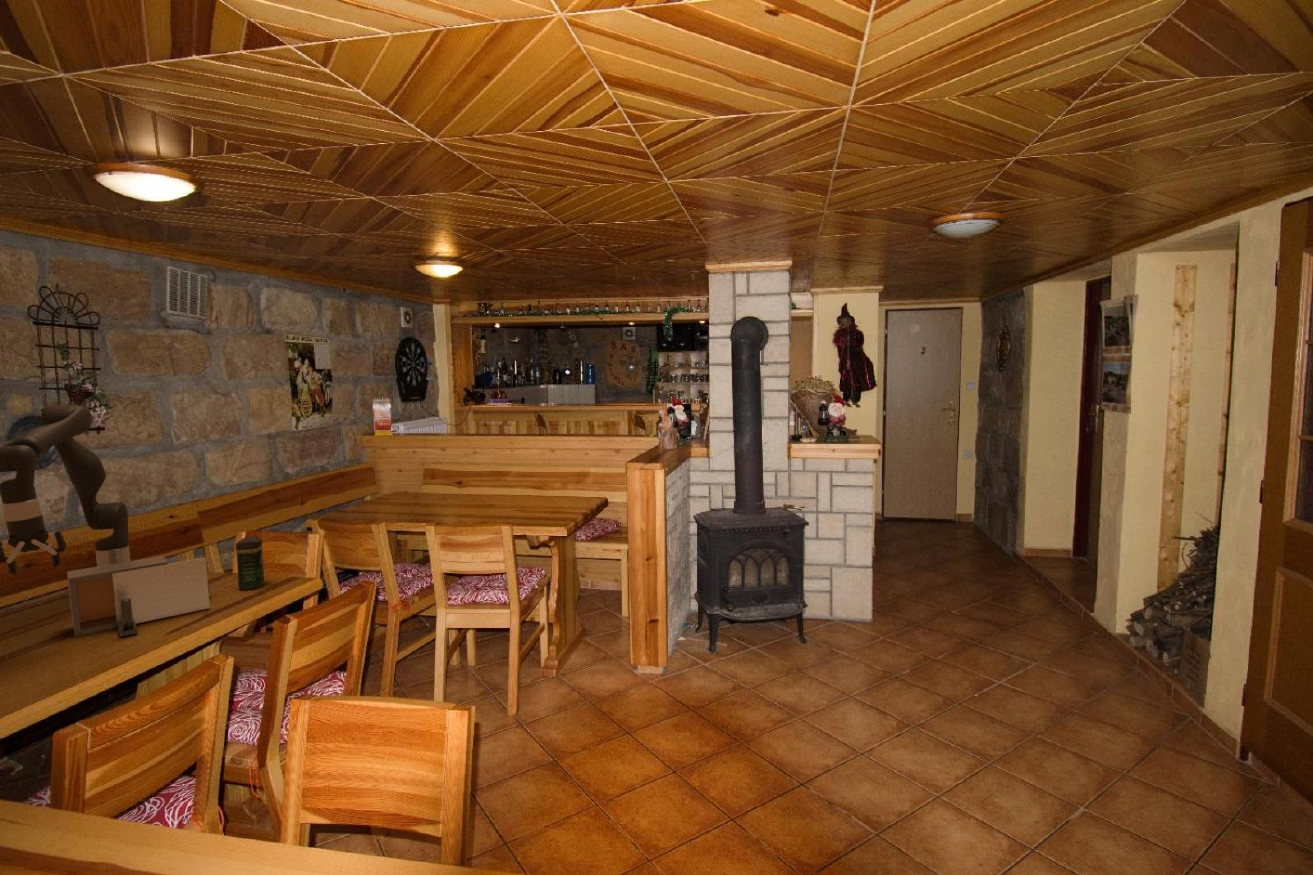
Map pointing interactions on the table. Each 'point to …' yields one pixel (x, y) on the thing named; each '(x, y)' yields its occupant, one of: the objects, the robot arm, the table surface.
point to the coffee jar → (250, 563)
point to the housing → (98, 594)
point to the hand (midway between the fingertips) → (36, 570)
